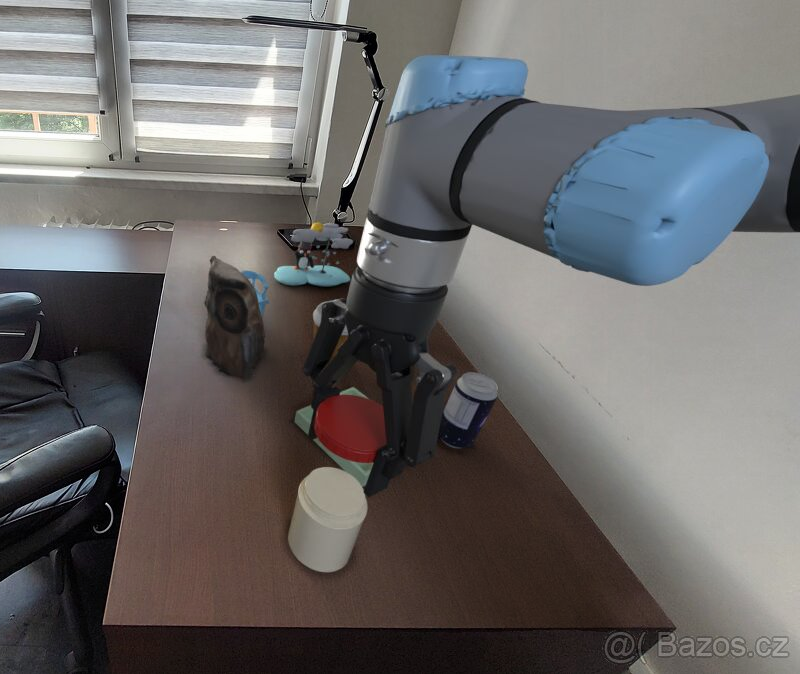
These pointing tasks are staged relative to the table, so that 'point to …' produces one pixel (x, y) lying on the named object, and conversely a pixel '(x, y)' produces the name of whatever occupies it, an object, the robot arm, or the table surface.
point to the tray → (353, 468)
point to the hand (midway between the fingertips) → (345, 460)
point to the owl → (232, 321)
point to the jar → (327, 519)
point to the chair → (261, 297)
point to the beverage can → (467, 409)
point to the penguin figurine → (314, 273)
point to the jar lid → (351, 427)
